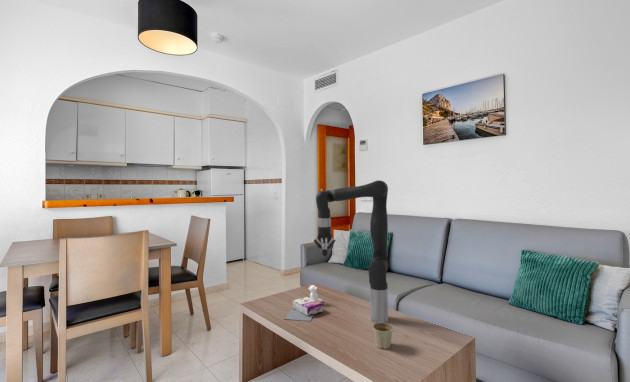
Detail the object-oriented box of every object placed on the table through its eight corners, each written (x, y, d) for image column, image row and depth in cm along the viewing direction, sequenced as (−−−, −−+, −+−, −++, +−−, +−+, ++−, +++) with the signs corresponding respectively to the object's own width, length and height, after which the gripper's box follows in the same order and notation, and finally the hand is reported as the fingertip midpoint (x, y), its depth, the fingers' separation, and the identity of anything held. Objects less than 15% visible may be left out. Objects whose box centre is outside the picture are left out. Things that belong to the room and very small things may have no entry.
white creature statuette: (322, 301, 199) (322, 282, 199) (321, 306, 191) (320, 287, 190) (307, 301, 200) (307, 282, 200) (305, 306, 192) (305, 286, 191)
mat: (315, 311, 183) (315, 311, 183) (310, 321, 170) (310, 320, 170) (290, 310, 186) (290, 309, 186) (283, 319, 173) (283, 318, 173)
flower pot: (378, 338, 150) (378, 320, 150) (397, 344, 144) (397, 325, 144) (369, 346, 142) (368, 327, 142) (388, 353, 136) (387, 333, 136)
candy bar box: (323, 312, 182) (307, 304, 195) (323, 303, 182) (307, 296, 195) (307, 316, 175) (292, 308, 189) (307, 307, 175) (292, 299, 189)
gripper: (336, 224, 183) (337, 254, 183) (314, 224, 185) (315, 254, 186) (334, 226, 175) (335, 257, 175) (311, 226, 178) (312, 257, 178)
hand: (325, 255), depth 181 cm, fingers closed
